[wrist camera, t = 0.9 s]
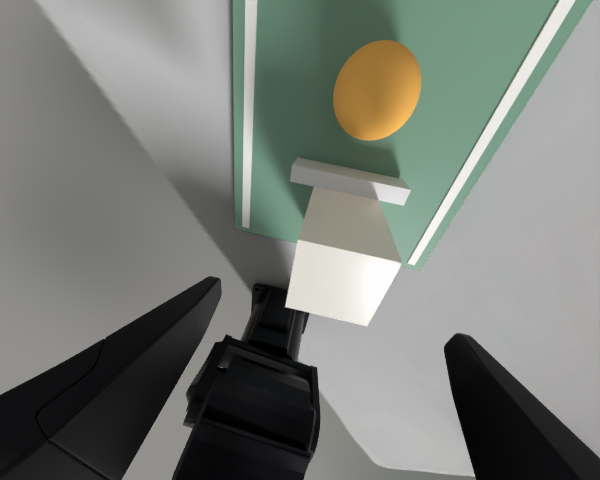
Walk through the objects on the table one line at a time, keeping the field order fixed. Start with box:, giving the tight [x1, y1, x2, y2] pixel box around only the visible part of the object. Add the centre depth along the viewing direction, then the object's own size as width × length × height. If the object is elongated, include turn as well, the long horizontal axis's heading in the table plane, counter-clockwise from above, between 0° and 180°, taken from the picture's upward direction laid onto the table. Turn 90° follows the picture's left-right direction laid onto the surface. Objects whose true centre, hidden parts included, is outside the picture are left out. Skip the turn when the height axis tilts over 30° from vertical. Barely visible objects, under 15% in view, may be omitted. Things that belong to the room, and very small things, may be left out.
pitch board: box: [233, 0, 592, 271], centre depth 12 cm, size 24×16×1 cm, turn 171°
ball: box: [333, 40, 421, 141], centre depth 11 cm, size 4×4×4 cm
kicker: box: [285, 157, 411, 326], centre depth 12 cm, size 5×7×8 cm
